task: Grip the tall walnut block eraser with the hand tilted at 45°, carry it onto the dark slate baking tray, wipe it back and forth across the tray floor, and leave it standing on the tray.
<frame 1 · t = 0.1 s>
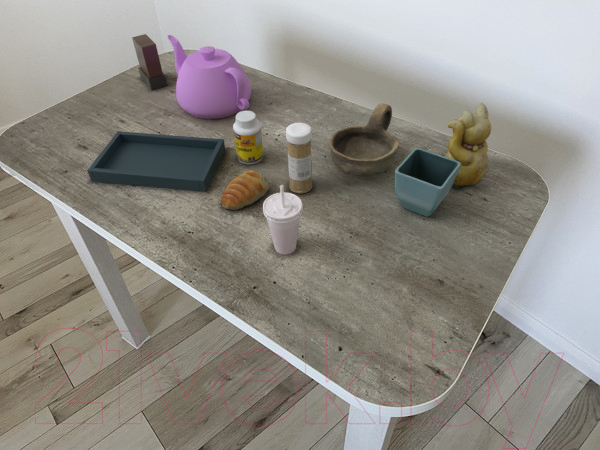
tray: (160, 165, 100), on the table
spice jar: (300, 187, 94), on the table
decorative figurine: (461, 179, 95), on the table
smoothie: (285, 247, 83), on the table
pastry: (246, 196, 93), on the table
bowl: (365, 162, 100), on the table
supplement bottle: (250, 158, 102), on the table
teapot: (212, 102, 118), on the table
eraser: (154, 81, 126), on the table
flower pot: (420, 205, 90), on the table
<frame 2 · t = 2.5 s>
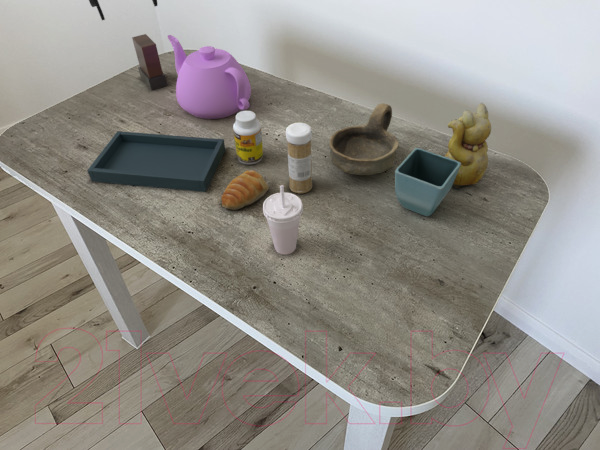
hand: (129, 10, 121), 15 cm above the table, tool tilted 40°, fingers open, 13 cm apart
nothing on the table moved.
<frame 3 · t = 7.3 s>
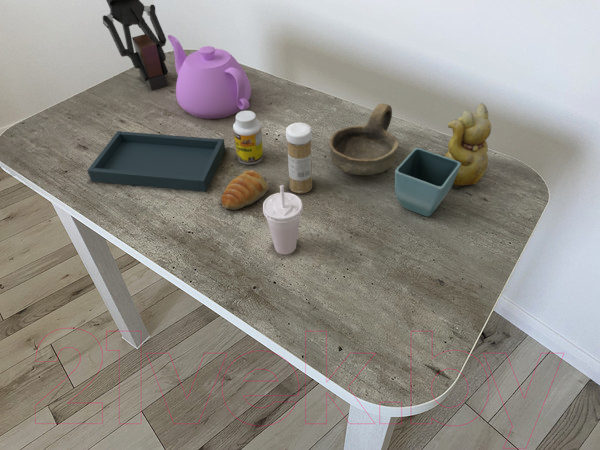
hand: (156, 75, 122), 3 cm above the table, tool tilted 45°, fingers closed on eraser, 4 cm apart
eraser: (154, 81, 126), on the table, touching gripper
everything else where it was.
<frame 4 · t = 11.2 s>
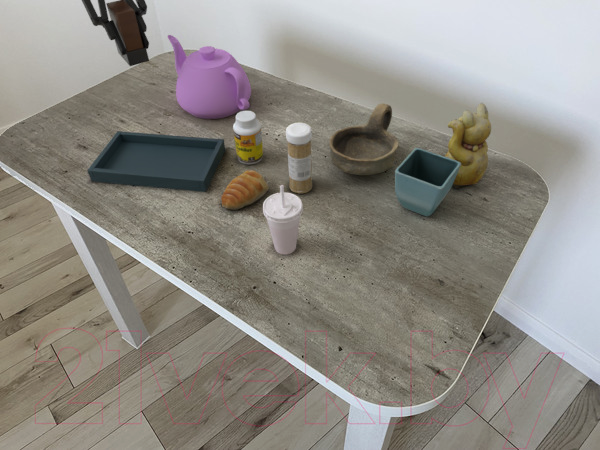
hand: (135, 49, 103), 16 cm above the table, tool tilted 45°, fingers closed on eraser, 4 cm apart
eraser: (133, 57, 108), point 13 cm above the table, touching gripper
everything else where it was.
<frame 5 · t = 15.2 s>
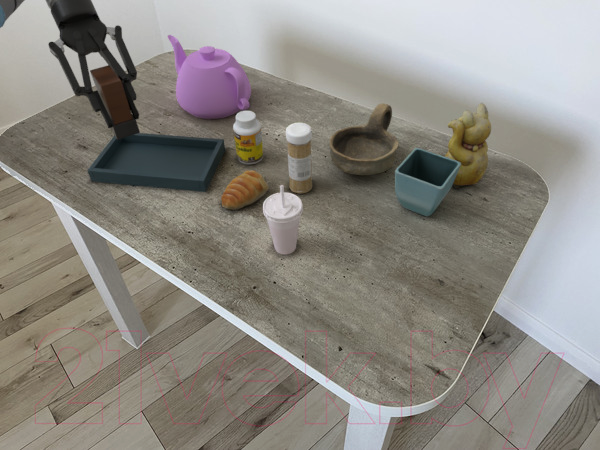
hand: (123, 121, 90), 12 cm above the table, tool tilted 45°, fingers closed on eraser, 4 cm apart
eraser: (122, 126, 95), point 9 cm above the table, touching gripper
everything else where it was.
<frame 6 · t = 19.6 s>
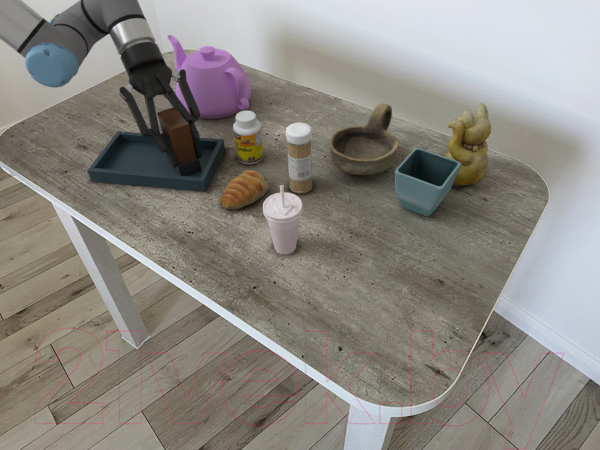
hand: (188, 161, 94), 4 cm above the table, tool tilted 45°, fingers closed on eraser, 4 cm apart
eraser: (183, 164, 99), point 1 cm above the table, touching gripper
everything else where it was.
when the fingers open (4 cm above the table, at t = 23.2 s): eraser stays where it is, resting on tray.
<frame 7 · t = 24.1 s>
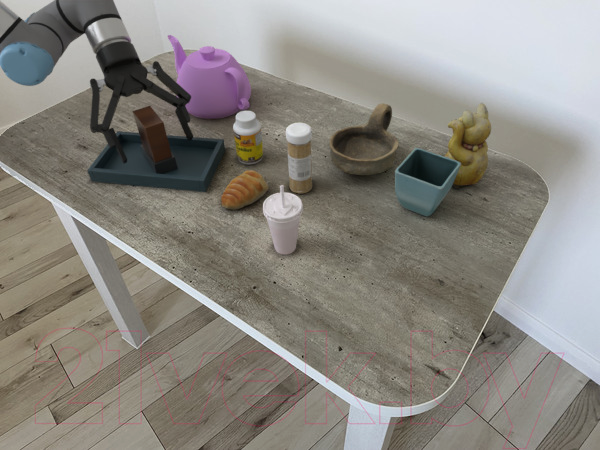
hand: (158, 150, 95), 5 cm above the table, tool tilted 45°, fingers open, 13 cm apart
eraser: (160, 162, 100), point 1 cm above the table, touching tray
everything else where it was.
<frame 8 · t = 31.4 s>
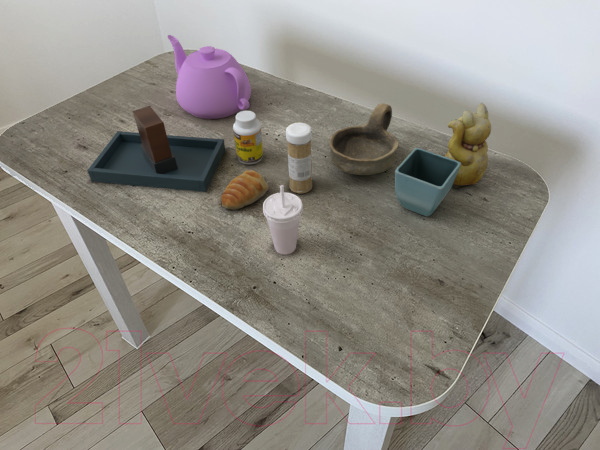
nothing on the table moved.
at the end: eraser inside the target area in the tray (0.2 cm from its centre), point 0.8 cm above the tray's base; eraser tilted 0°; eraser moved 37.4 cm from its start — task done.
